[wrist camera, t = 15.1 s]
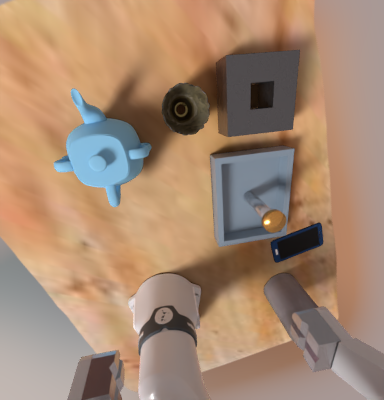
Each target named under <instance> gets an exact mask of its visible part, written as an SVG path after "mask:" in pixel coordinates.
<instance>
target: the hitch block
mask: <svg viewBox="0 0 384 400" xmlns="http://www.w3.org/2000/svg"><path fill="white" fill-rule="evenodd" d="M299 55H300V50H292V51H278V52H265V53H252V54H239V55H226V56H225V57H223V58H222V59H220V60H219V61H218V62H216V79H217V104H218V130H219V134H222V135H224V136H227V137H232V136H241V135H249V134H258V133H267V132H275V131H284V130H292V129H293V121H294V110H295V99H296V88H297V77H298V66H299ZM256 84H258V107H257V108H250V103H251V85H256Z"/></svg>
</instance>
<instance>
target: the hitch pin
mask: <svg viewBox="0 0 384 400" xmlns="http://www.w3.org/2000/svg"><path fill="white" fill-rule="evenodd" d="M243 197H244V200H245V201H246V202H247V203H248V204H249V205H250V206H251V207H252V208H253V209H254V210H255V212H256V213H257V214H258V215H259V216H260V217H261V218H262V220H261V223H262V226H263V227H264V228H265V229H266V230H267V231H268V232H271V233H275V232H278V231H280V230H281V229H283V228H284V226H285V224H286V216H285V215H284V214H283V213H282V212H281V211H280V210H277V209H271V208H269V207H268V206H267V205H266V204H265V203H264V202H263V201H262V200H261V199H260V198H258V197H257V196H256V195H255V194H254V193H253V192H252V191H247V192H246V193H245V194H244V196H243Z"/></svg>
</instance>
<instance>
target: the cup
mask: <svg viewBox="0 0 384 400" xmlns="http://www.w3.org/2000/svg"><path fill="white" fill-rule="evenodd" d="M178 105H183V106H184V107H185V112H184V113H183V114H178V113H177V110H176V109H177V106H178ZM209 106H210V104H209V103H208V98H207V95H206V93H205V92H203V91H202V90H201V88H200V87H199V86H193V85H190V84H188V83H179V84H177V85H175V86H174V87H173V88H171V89H170V90H169V91H168V93H167V94H166V95H165V97H164V99H163V103H162V114H163V117H164V121H165V123H166V125H167V126H168V127H169V128H170V129H171V130H172V131H173V132H177V133H180V134H183V135H192V134H196V133H197V132H198V131H199V130H200V129H202V128H204V124H205V123H206V122H207V121H208V117H209V115H210V113H209V109H208V108H209Z"/></svg>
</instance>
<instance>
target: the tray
mask: <svg viewBox="0 0 384 400" xmlns="http://www.w3.org/2000/svg"><path fill="white" fill-rule="evenodd" d="M293 159H294V148H291V147H287V146H284V145H283V146H275V147H267V148H259V149H251V150H243V151H235V152H227V153H219V154H211V155H210V165H211V182H212V200H213V217H214V235H215V239H216V241H217V243H218V246H219V247H222V246H227V245H233V244H239V243H245V242H251V241H256V240H262V239H268V238H274V237H280V236H285V235H286V231H287V221H288V210H289V200H290V190H291V180H292V169H293ZM247 191H252V192H253V193H254V194H255V195H256V196H257V197H258V198H260V199H261V200H262V201H263V202H264V203H265V204H266V205H267V206H268V207H269V208H271V209H277V210H280V211H281V212H282V213H283V214H284V215H285V216H286V224H285V226H284V228H283V229H281V230H280V231H278V232H275V233H271V232H268V231H267V230H266V229H265V228H264V227H263V226H262V223H261V220H262V218H261V217H260V216H259V215H258V214H257V213H256V212H255V210H254V209H253V208H252V207H251V206H250V205H249V204H248V203H247V202H246V201H245V200H244V197H243V196H244V194H245V193H246V192H247Z"/></svg>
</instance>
